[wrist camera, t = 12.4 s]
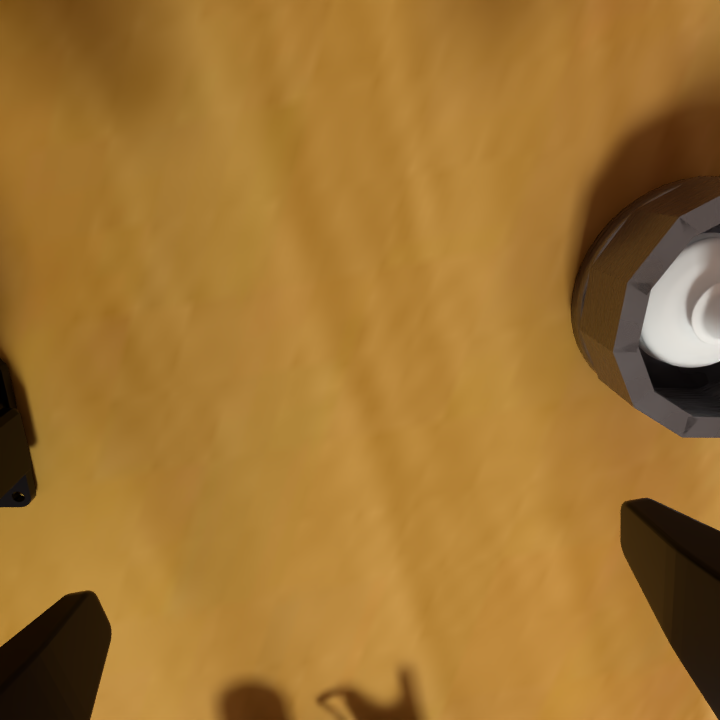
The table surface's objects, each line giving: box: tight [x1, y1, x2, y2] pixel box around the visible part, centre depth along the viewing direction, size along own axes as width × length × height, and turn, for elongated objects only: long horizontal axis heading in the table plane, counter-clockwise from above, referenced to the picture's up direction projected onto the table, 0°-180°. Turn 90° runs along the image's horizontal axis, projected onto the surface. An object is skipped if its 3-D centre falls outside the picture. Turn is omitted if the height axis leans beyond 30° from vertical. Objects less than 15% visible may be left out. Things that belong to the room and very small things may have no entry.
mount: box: [571, 176, 720, 438], centre depth 18 cm, size 9×9×4 cm
